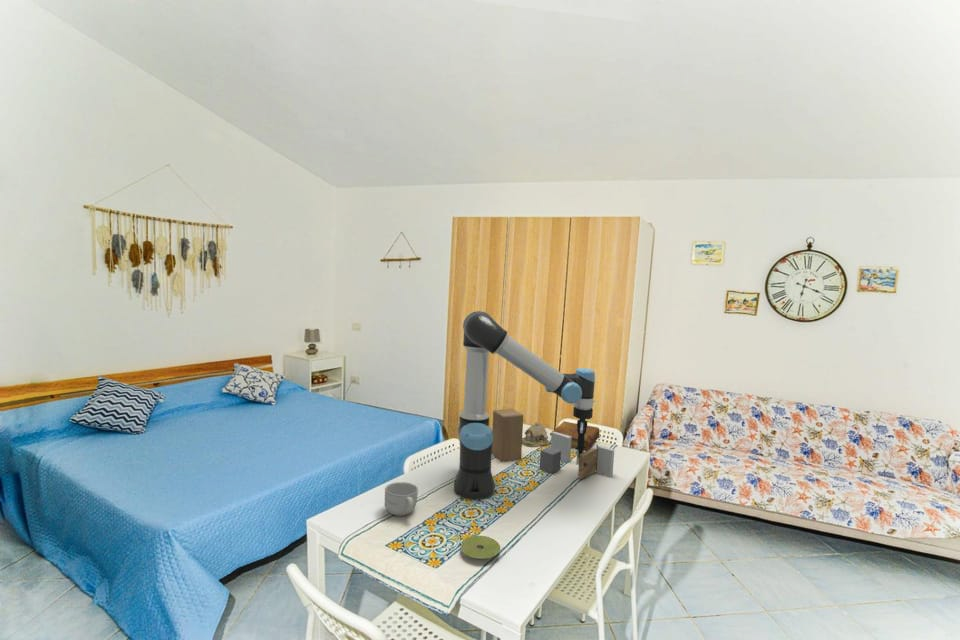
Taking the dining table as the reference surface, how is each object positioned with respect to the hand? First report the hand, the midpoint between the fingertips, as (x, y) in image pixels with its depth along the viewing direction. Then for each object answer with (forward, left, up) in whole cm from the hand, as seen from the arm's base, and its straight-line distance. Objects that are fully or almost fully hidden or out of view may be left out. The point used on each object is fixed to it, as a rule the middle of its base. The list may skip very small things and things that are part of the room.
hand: (579, 464), depth 186 cm
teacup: (-71, +24, -5) cm, 75 cm away
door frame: (+9, +5, -5) cm, 11 cm away
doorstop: (-4, +11, -5) cm, 13 cm away
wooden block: (-7, +32, -5) cm, 33 cm away
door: (+2, -3, -4) cm, 6 cm away
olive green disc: (-68, -9, -5) cm, 69 cm away
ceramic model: (+17, +34, -5) cm, 38 cm away
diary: (+35, +23, -5) cm, 42 cm away
